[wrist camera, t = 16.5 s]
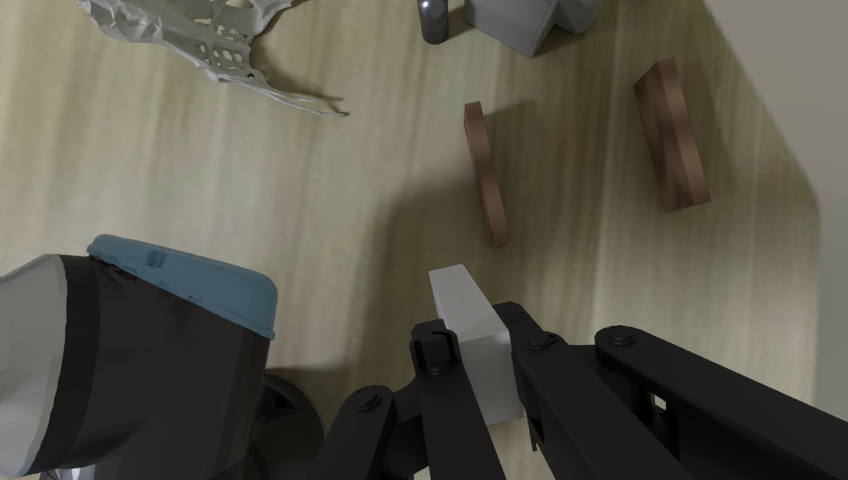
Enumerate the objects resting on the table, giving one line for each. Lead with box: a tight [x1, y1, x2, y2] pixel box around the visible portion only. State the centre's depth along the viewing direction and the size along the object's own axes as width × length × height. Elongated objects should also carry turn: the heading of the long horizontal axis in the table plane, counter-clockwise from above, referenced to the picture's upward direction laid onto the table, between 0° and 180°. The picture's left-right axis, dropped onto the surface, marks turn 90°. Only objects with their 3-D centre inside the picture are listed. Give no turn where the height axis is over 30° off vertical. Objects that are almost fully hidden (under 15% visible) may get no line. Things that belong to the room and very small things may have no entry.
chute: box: [464, 58, 711, 247], centre depth 40 cm, size 14×20×5 cm
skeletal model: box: [75, 0, 345, 117], centre depth 41 cm, size 16×9×25 cm
